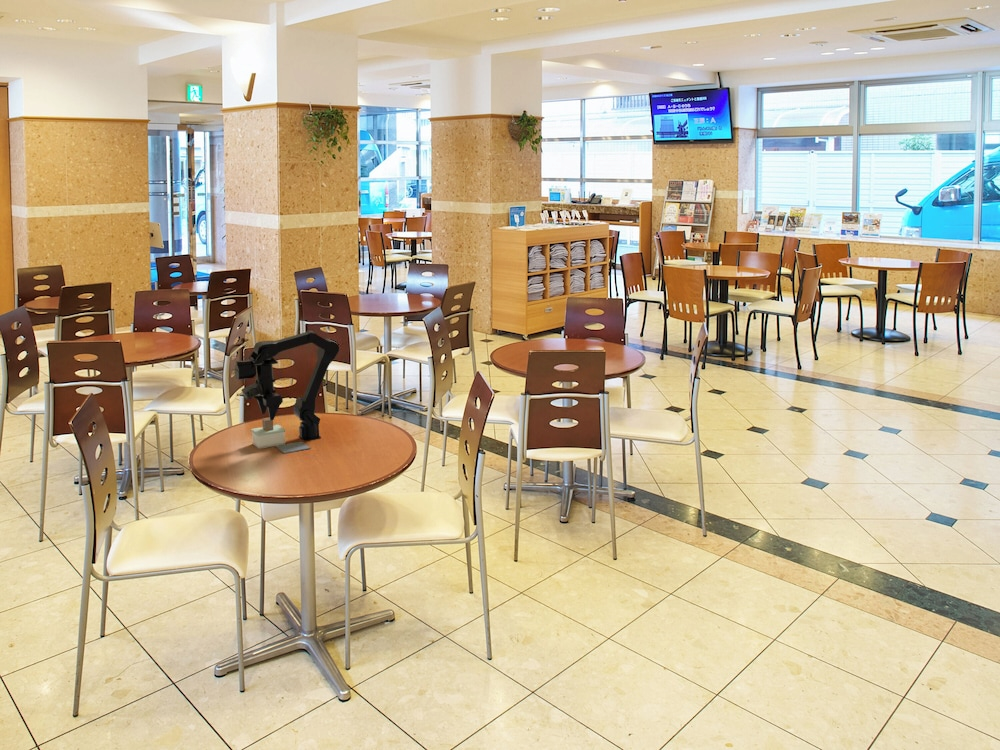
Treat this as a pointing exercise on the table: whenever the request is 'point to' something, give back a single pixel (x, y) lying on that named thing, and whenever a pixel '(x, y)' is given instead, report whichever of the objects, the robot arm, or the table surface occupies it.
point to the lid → (267, 428)
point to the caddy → (268, 440)
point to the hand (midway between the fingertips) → (267, 416)
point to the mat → (292, 447)
